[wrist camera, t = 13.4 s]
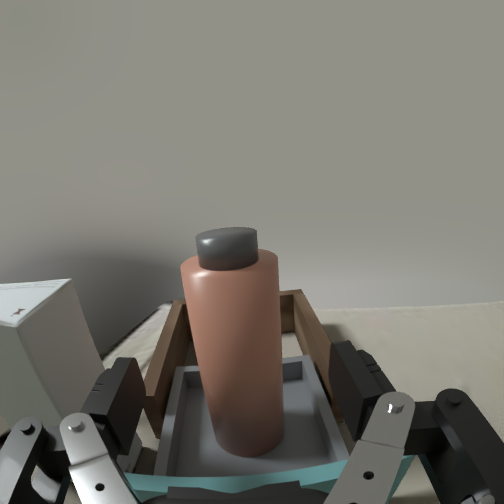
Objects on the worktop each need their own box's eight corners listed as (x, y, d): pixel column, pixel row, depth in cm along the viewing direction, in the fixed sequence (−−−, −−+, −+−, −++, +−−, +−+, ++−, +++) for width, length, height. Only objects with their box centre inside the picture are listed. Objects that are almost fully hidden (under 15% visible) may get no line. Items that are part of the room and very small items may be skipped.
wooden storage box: (301, 325, 38) (301, 289, 36) (343, 421, 21) (350, 377, 20) (180, 336, 37) (173, 300, 36) (156, 438, 21) (138, 395, 19)
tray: (328, 376, 27) (331, 318, 25) (385, 506, 12) (415, 454, 11) (162, 391, 26) (146, 334, 24) (132, 528, 12) (87, 481, 10)
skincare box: (144, 445, 20) (83, 274, 16) (124, 502, 14) (19, 321, 10) (65, 428, 20) (0, 277, 16) (38, 472, 14) (-56, 310, 10)
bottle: (278, 405, 23) (269, 220, 19) (289, 452, 18) (284, 240, 14) (215, 411, 22) (184, 228, 18) (214, 459, 17) (167, 251, 13)
